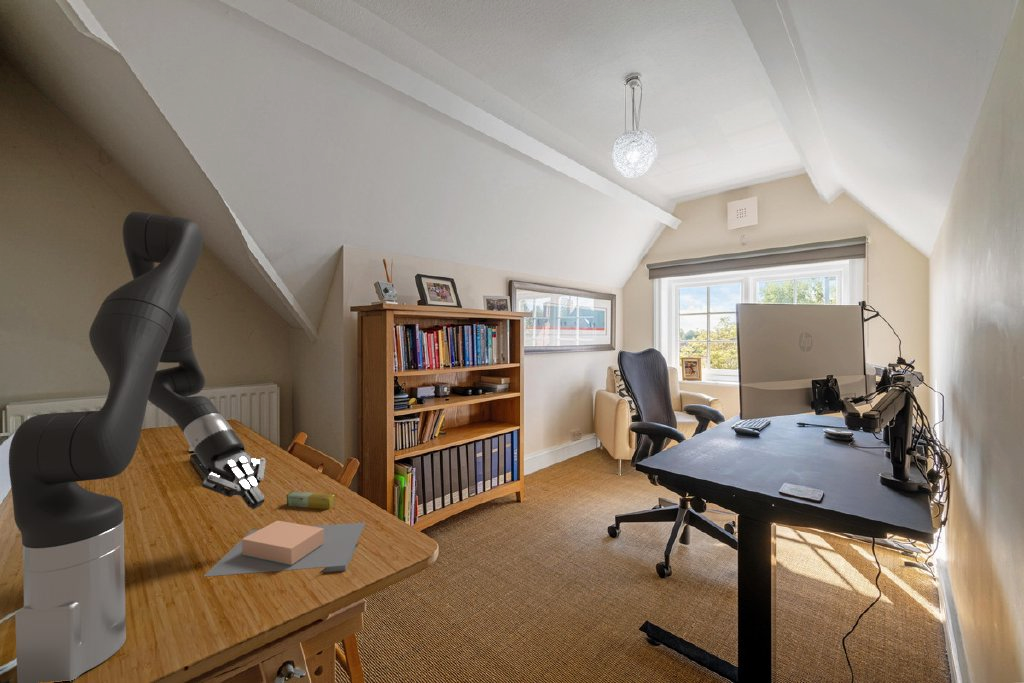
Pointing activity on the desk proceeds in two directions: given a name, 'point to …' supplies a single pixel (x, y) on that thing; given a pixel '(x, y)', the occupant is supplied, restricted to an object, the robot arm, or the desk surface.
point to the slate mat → (329, 555)
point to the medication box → (310, 500)
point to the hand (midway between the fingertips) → (259, 505)
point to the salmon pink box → (283, 542)
